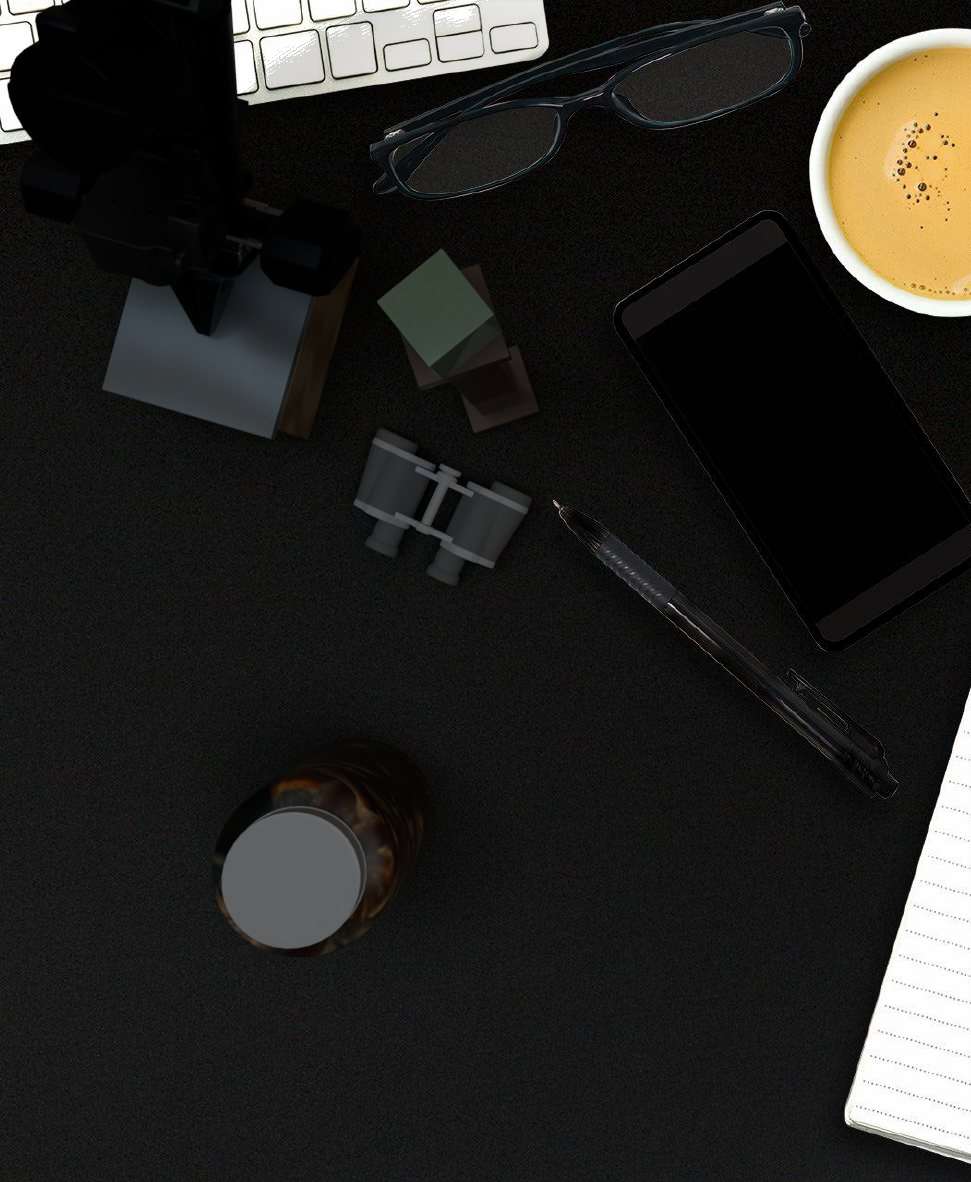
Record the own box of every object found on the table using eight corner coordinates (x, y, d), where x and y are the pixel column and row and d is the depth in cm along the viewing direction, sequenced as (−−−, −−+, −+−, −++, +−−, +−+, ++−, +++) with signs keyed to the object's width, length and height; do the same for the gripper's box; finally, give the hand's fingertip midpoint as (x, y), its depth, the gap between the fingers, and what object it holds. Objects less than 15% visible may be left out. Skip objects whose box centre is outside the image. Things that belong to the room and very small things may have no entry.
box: (308, 440, 76) (278, 429, 70) (156, 395, 77) (111, 380, 70) (360, 257, 76) (334, 228, 69) (206, 212, 76) (165, 179, 69)
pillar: (453, 369, 76) (386, 295, 54) (518, 346, 76) (478, 262, 54) (475, 435, 76) (418, 388, 54) (541, 412, 76) (510, 356, 54)
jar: (296, 719, 77) (219, 759, 62) (450, 760, 77) (410, 810, 62) (257, 873, 78) (172, 950, 63) (410, 914, 78) (361, 1001, 63)
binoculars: (534, 499, 76) (531, 496, 73) (488, 599, 77) (482, 602, 73) (384, 429, 76) (373, 423, 73) (339, 530, 77) (325, 529, 73)
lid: (274, 440, 70) (271, 439, 69) (107, 391, 70) (101, 389, 69) (334, 228, 69) (331, 224, 68) (165, 179, 69) (160, 174, 68)
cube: (393, 319, 54) (376, 301, 50) (454, 270, 54) (441, 247, 50) (442, 381, 54) (428, 367, 50) (503, 331, 54) (494, 314, 50)
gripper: (-80, 101, 52) (-5, 361, 63) (285, 207, 51) (293, 448, 63) (49, 23, 59) (94, 268, 71) (368, 116, 59) (361, 346, 70)
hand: (206, 331), depth 68 cm, fingers closed, pressing on lid
